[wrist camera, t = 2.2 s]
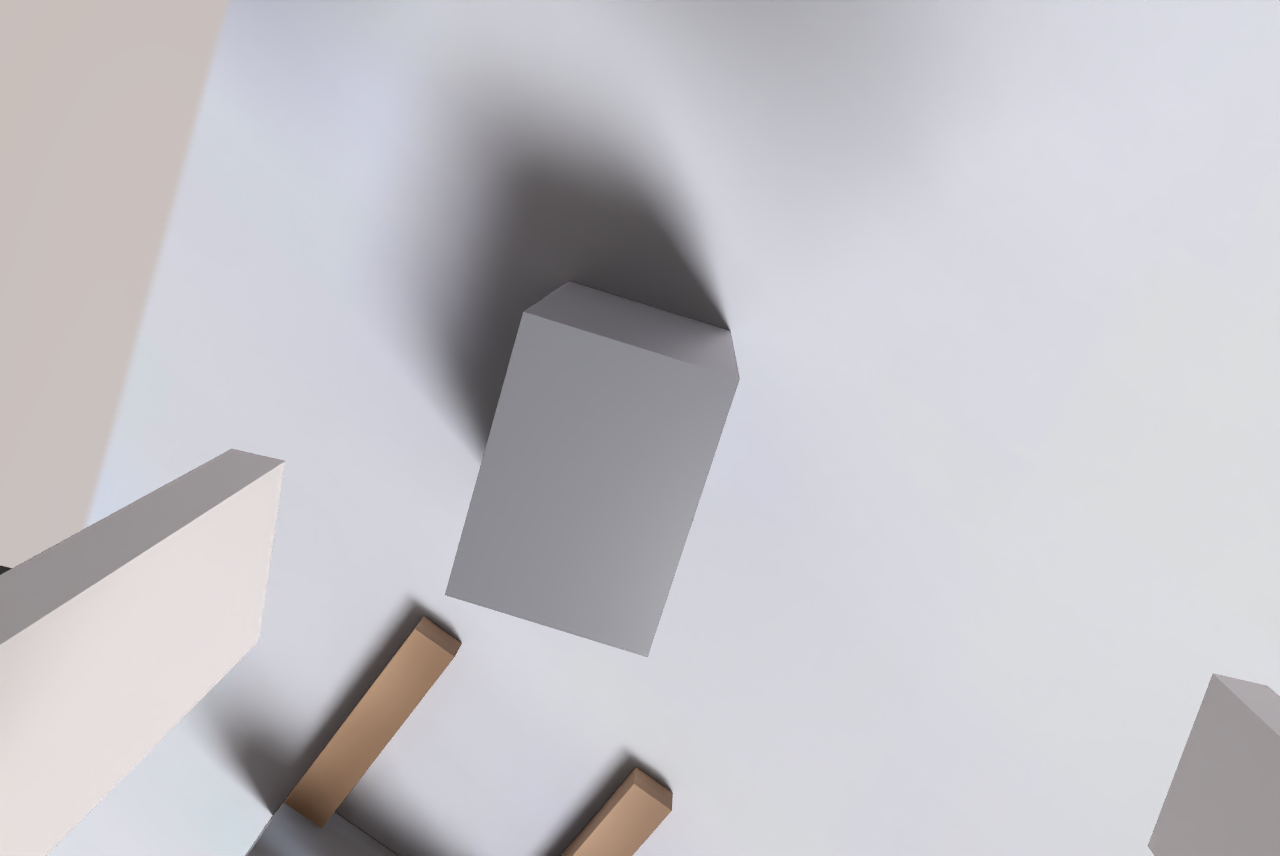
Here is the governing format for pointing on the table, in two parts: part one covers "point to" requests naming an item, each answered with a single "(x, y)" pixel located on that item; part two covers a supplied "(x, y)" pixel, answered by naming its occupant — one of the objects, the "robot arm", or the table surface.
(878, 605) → the table surface
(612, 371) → the plug block
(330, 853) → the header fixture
